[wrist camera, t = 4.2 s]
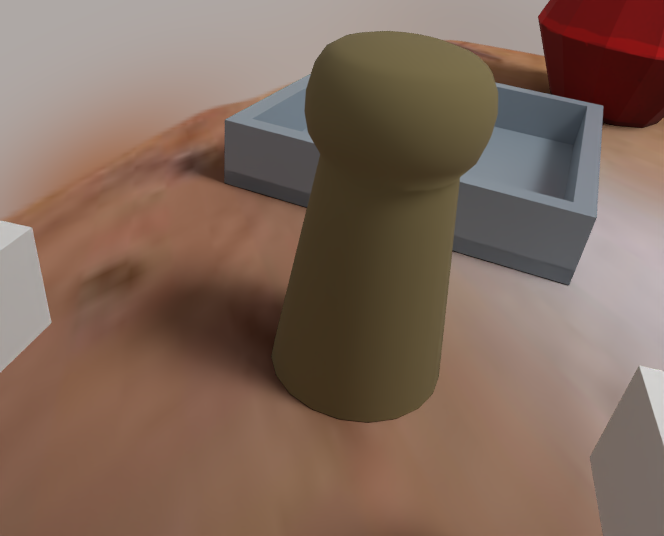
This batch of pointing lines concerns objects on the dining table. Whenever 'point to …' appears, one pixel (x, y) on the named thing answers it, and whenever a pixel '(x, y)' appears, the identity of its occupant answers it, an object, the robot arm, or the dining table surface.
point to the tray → (475, 185)
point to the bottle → (607, 56)
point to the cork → (380, 221)
